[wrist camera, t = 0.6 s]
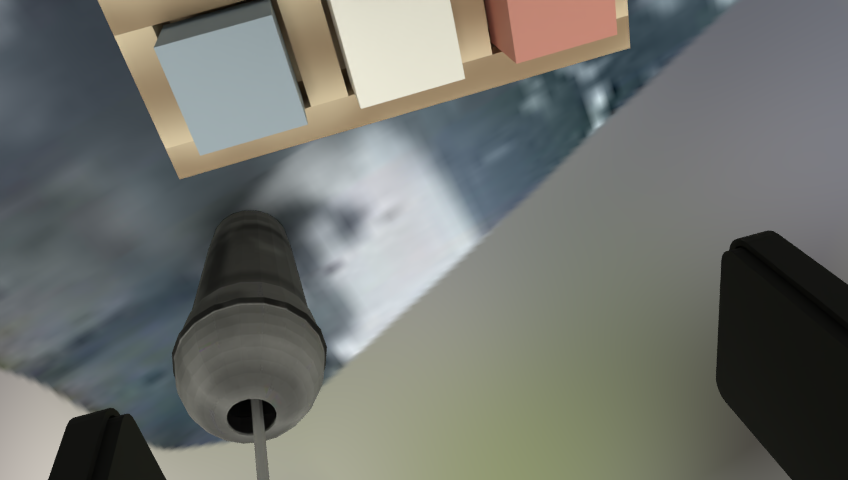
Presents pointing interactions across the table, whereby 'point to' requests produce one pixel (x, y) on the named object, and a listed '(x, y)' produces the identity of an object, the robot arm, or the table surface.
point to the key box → (318, 71)
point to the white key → (396, 46)
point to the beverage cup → (249, 338)
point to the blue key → (231, 75)
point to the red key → (547, 25)
